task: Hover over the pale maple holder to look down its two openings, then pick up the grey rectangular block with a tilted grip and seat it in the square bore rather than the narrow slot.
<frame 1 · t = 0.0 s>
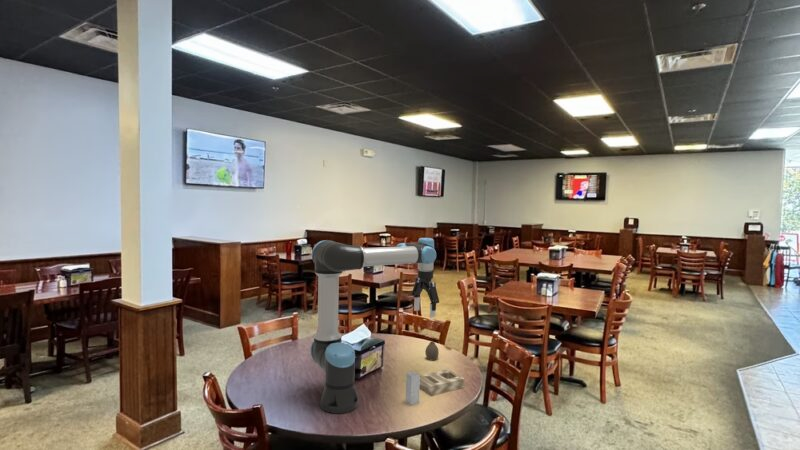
hand: (424, 313, 206), 28 cm above the table, tool pointing down, fingers open, 13 cm apart
bit holder: (439, 386, 190), on the table
grey rectangular block: (412, 402, 174), on the table
dark grey egg: (431, 359, 223), on the table
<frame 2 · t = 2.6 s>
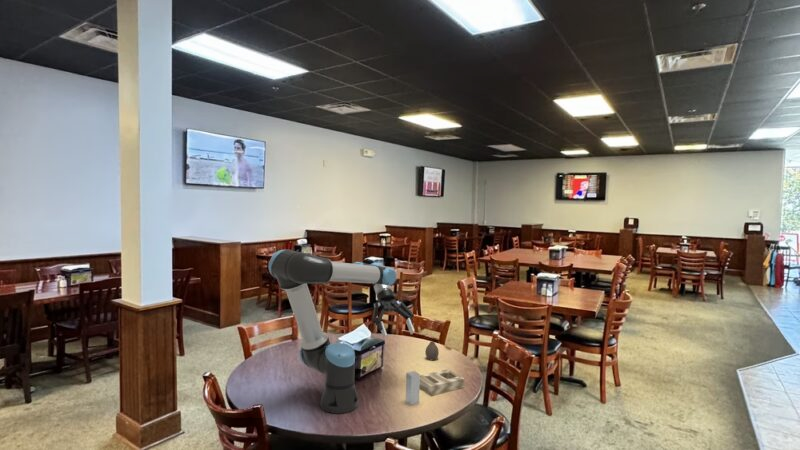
hand: (399, 334, 184), 25 cm above the table, tool tilted 45°, fingers open, 13 cm apart
nothing on the table moved.
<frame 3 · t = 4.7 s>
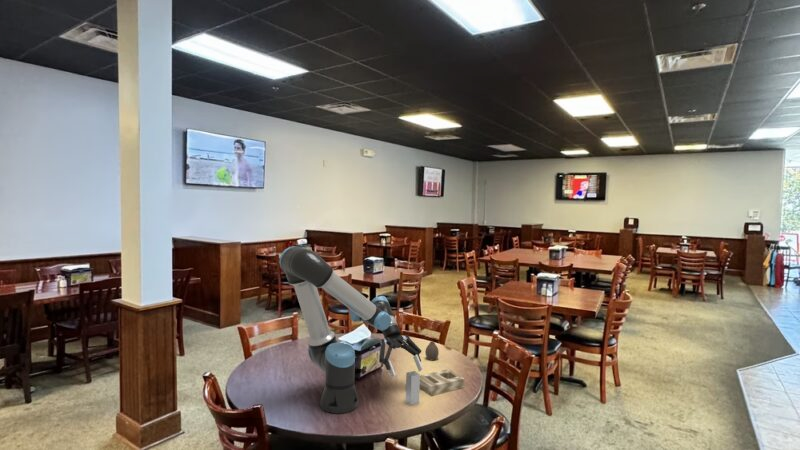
hand: (407, 373, 178), 10 cm above the table, tool tilted 45°, fingers open, 13 cm apart
nothing on the table moved.
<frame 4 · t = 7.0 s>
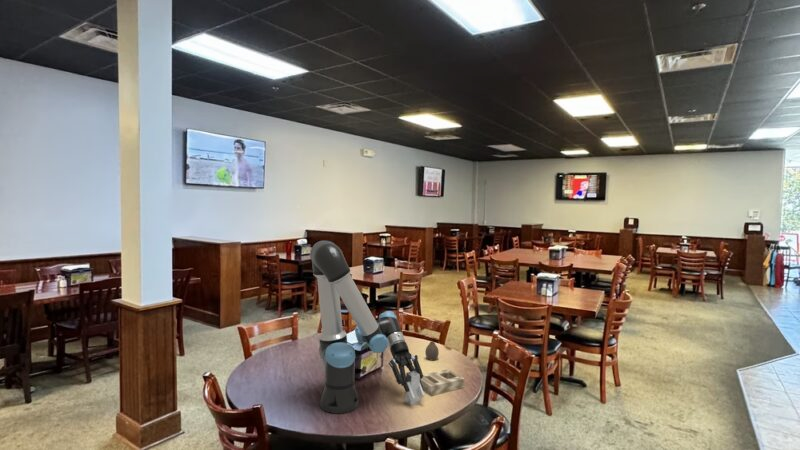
hand: (417, 397, 171), 3 cm above the table, tool tilted 45°, fingers closed on grey rectangular block, 4 cm apart
grey rectangular block: (412, 402, 174), on the table, touching gripper
everything else where it was.
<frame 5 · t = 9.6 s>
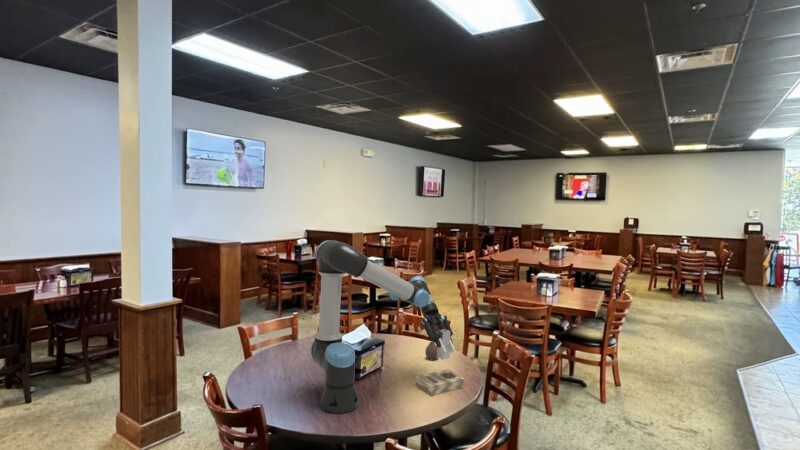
hand: (448, 352, 185), 17 cm above the table, tool tilted 45°, fingers closed on grey rectangular block, 4 cm apart
grey rectangular block: (443, 357, 188), point 14 cm above the table, touching gripper
everything else where it was.
when the fingers open (6 cm above the table, at t = 12.7 s): grey rectangular block drops 2 cm, resting on bit holder.
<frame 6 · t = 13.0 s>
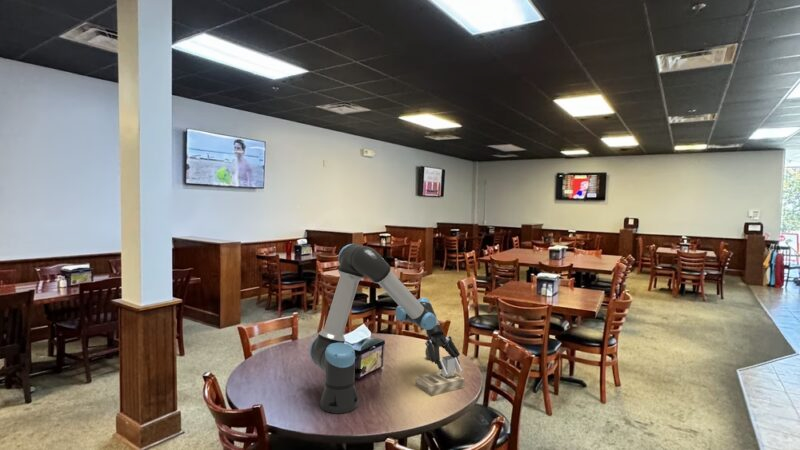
hand: (452, 373, 189), 6 cm above the table, tool tilted 45°, fingers open, 7 cm apart
grey rectangular block: (447, 383, 192), resting on bit holder
everything else where it was.
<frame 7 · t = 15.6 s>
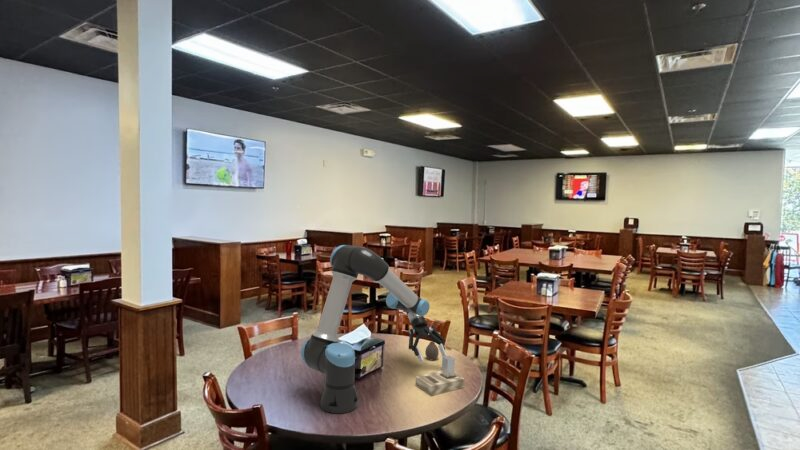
hand: (433, 359, 201), 8 cm above the table, tool tilted 45°, fingers open, 13 cm apart
nothing on the table moved.
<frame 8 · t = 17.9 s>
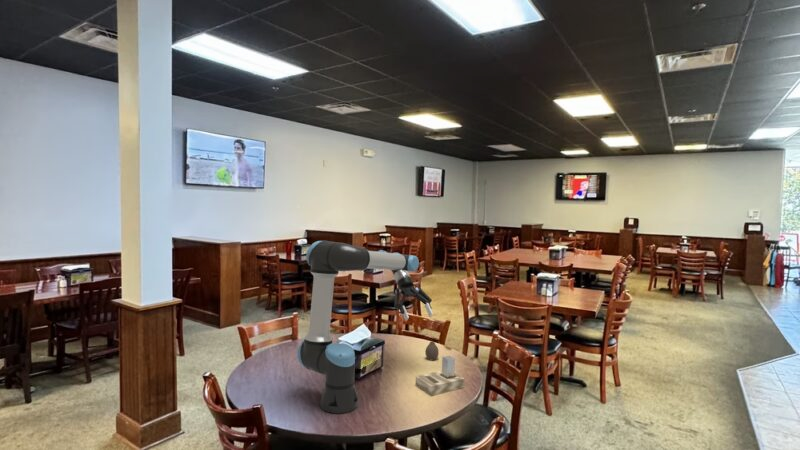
hand: (419, 317, 200), 28 cm above the table, tool tilted 45°, fingers open, 13 cm apart
nothing on the table moved.
at the end: grey rectangular block 0.0 cm from the target spot on the bit holder, point 0.2 cm above the bit holder's base; grey rectangular block tilted 0°; the gripper is holding nothing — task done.
